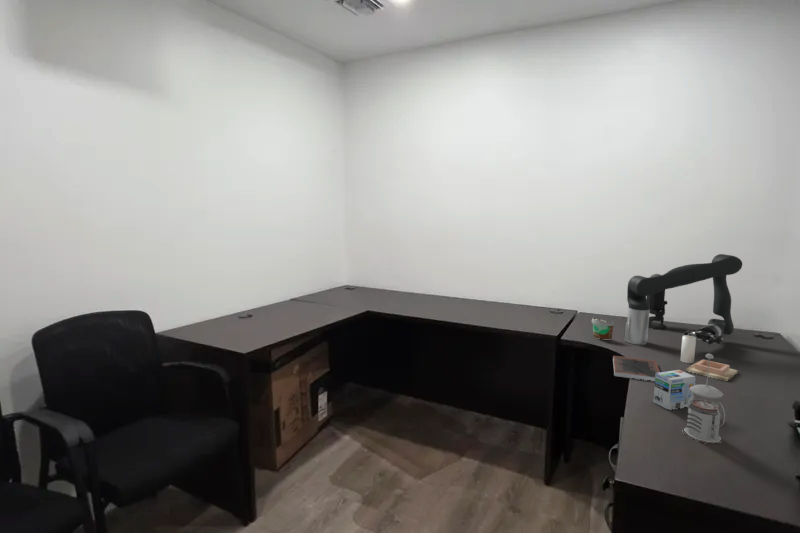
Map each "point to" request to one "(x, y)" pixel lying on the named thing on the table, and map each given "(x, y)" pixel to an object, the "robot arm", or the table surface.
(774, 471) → the table surface
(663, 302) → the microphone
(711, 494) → the table surface
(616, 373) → the picture frame
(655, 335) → the table surface
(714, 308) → the robot arm
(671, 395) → the light bulb box
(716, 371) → the roll holder
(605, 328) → the food container
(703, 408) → the french press
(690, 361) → the paper roll
